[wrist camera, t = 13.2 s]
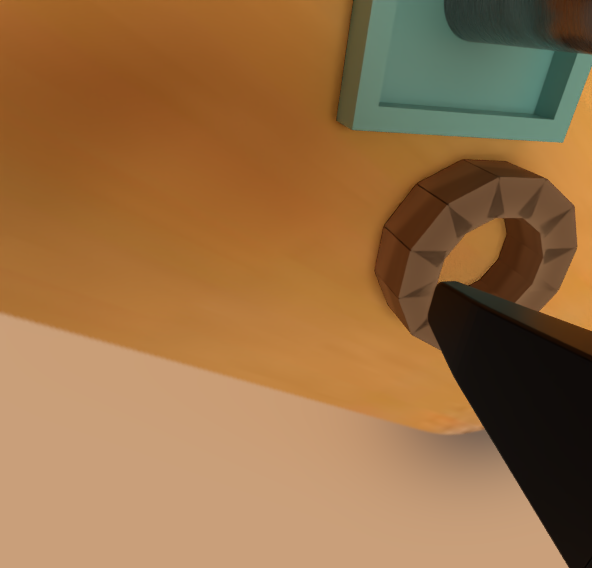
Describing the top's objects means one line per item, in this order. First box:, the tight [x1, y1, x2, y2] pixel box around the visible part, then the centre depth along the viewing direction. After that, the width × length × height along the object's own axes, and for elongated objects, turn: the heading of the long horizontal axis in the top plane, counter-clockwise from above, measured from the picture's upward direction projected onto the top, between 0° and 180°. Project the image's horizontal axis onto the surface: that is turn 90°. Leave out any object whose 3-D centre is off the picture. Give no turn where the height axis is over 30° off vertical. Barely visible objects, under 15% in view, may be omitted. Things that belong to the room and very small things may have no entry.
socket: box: [375, 159, 577, 350], centre depth 25 cm, size 10×10×3 cm
